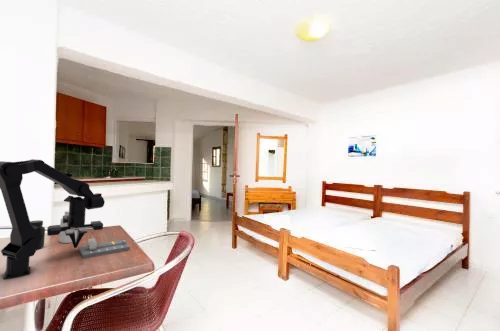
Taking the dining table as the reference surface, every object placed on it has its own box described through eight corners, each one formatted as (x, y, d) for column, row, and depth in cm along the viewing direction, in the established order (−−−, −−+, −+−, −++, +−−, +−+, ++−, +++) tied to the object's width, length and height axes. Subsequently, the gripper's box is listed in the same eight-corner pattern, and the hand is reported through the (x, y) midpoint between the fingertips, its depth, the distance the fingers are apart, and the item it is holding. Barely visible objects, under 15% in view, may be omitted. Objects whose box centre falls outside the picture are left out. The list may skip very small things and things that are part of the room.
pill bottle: (81, 237, 122) (83, 209, 122) (76, 242, 115) (78, 212, 115) (62, 238, 119) (64, 209, 119) (56, 244, 112) (58, 212, 112)
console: (129, 249, 109) (130, 244, 109) (82, 258, 97) (83, 252, 97) (122, 242, 118) (123, 237, 118) (78, 250, 106) (79, 244, 106)
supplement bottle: (31, 251, 101) (33, 223, 101) (19, 249, 102) (20, 222, 103) (48, 246, 108) (49, 220, 108) (36, 244, 109) (37, 219, 109)
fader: (96, 249, 103) (96, 240, 103) (89, 250, 101) (90, 241, 101) (94, 245, 107) (94, 237, 107) (87, 246, 105) (88, 238, 105)
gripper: (99, 206, 112) (97, 239, 112) (47, 209, 100) (45, 246, 100) (104, 210, 104) (102, 245, 104) (48, 214, 91) (46, 254, 91)
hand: (75, 247), depth 100 cm, fingers closed
